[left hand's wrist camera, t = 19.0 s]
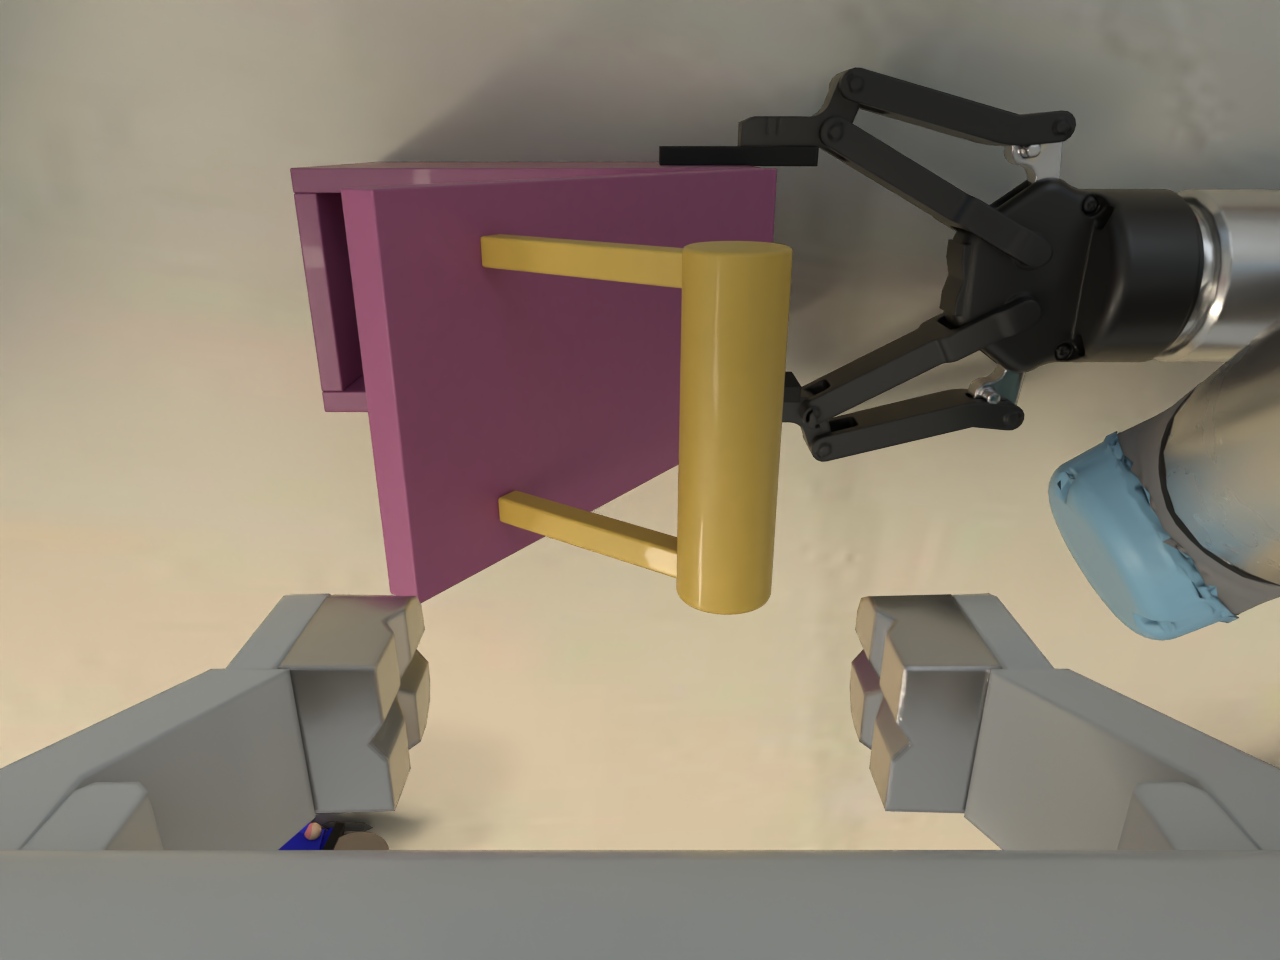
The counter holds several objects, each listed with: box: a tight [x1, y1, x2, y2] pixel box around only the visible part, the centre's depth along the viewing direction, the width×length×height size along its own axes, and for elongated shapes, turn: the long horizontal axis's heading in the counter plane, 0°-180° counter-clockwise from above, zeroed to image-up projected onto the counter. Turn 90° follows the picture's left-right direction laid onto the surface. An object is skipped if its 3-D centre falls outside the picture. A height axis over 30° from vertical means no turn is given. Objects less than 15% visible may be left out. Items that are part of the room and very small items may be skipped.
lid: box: [341, 168, 793, 615], centre depth 24 cm, size 18×10×9 cm
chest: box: [290, 162, 759, 412], centre depth 38 cm, size 18×10×11 cm, turn 90°
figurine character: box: [278, 822, 389, 850], centre depth 55 cm, size 7×8×15 cm
